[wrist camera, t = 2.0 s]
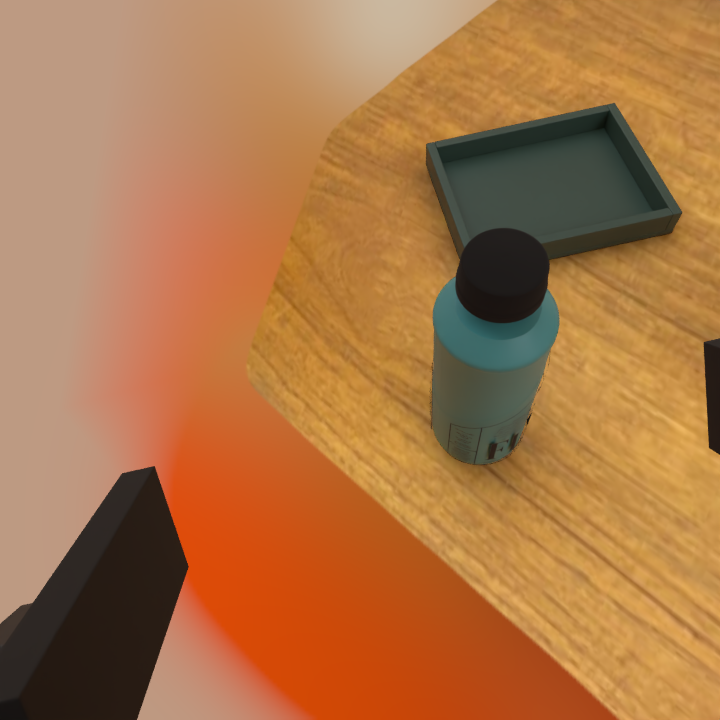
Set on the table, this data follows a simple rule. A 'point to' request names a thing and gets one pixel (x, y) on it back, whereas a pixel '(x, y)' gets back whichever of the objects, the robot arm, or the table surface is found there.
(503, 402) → the beverage bottle
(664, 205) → the tray
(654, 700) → the table surface
